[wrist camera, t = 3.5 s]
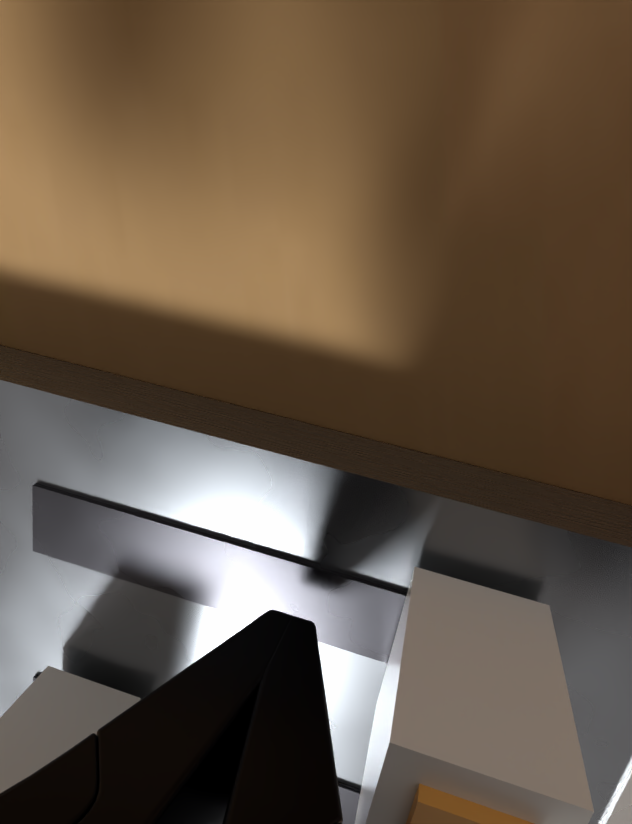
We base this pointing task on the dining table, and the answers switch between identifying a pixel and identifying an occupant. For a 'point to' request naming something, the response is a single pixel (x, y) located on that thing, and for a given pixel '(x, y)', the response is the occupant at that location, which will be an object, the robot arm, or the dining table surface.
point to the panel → (281, 552)
